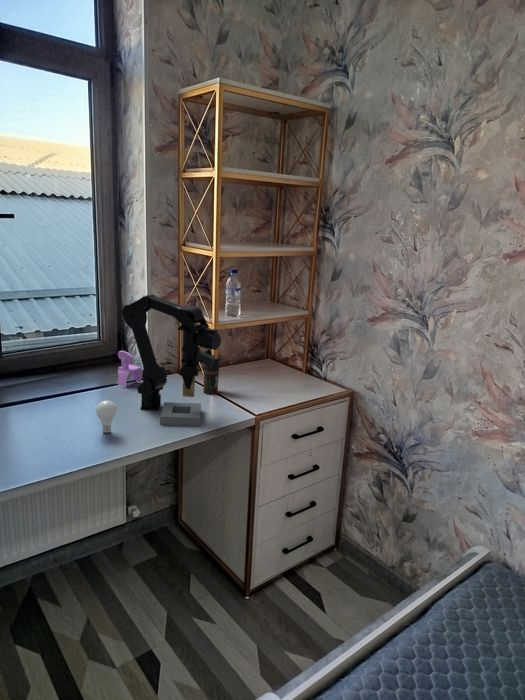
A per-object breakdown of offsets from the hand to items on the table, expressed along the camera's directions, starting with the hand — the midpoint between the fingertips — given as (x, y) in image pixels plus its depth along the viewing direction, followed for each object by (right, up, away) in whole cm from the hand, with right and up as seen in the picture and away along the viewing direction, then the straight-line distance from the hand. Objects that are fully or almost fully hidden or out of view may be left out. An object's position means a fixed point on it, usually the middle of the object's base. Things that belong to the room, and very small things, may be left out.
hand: (188, 386), depth 174 cm
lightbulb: (-25, -14, -13) cm, 31 cm away
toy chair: (-30, -2, +32) cm, 44 cm away
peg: (0, -3, +1) cm, 3 cm away
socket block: (-3, -11, +3) cm, 12 cm away
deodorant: (+5, -5, +30) cm, 30 cm away
